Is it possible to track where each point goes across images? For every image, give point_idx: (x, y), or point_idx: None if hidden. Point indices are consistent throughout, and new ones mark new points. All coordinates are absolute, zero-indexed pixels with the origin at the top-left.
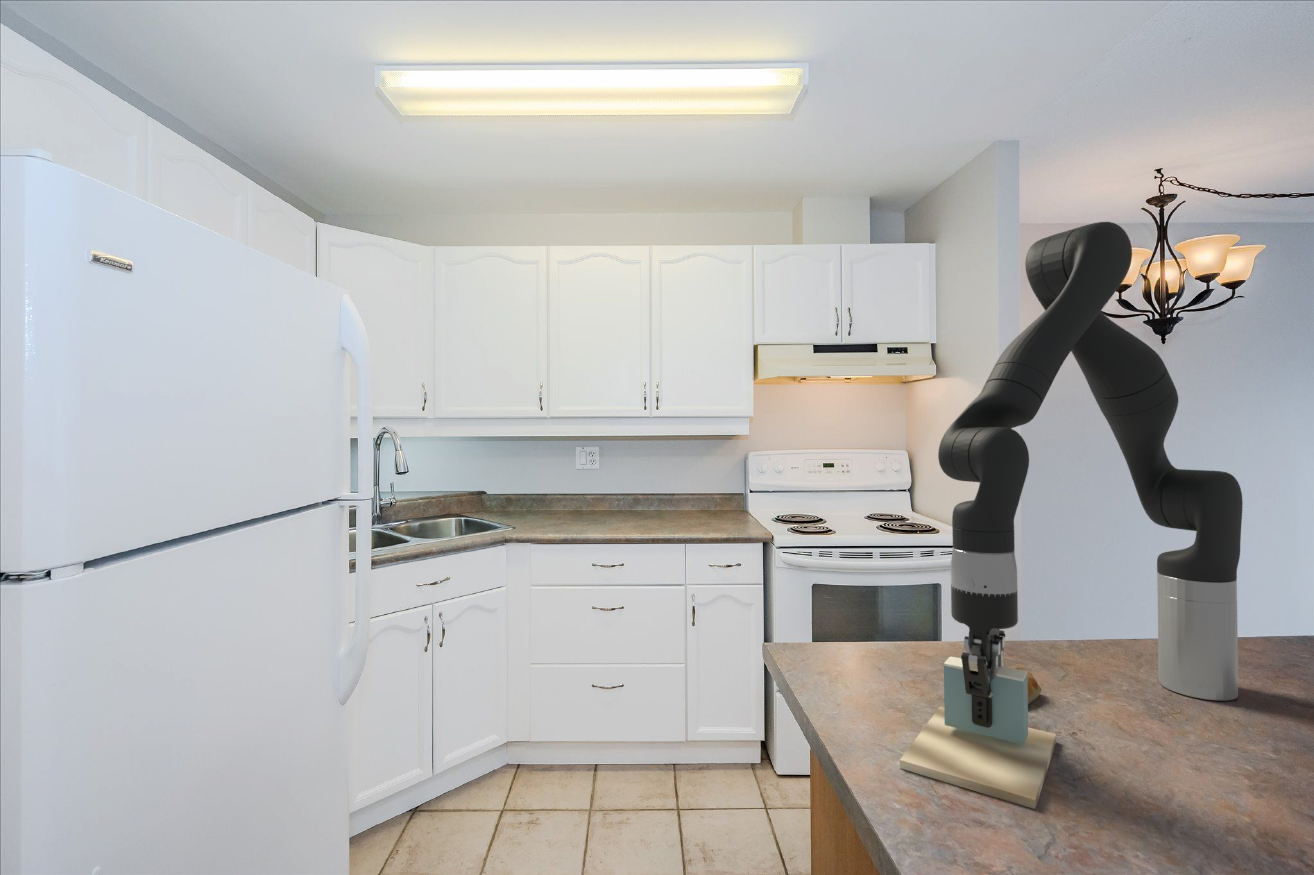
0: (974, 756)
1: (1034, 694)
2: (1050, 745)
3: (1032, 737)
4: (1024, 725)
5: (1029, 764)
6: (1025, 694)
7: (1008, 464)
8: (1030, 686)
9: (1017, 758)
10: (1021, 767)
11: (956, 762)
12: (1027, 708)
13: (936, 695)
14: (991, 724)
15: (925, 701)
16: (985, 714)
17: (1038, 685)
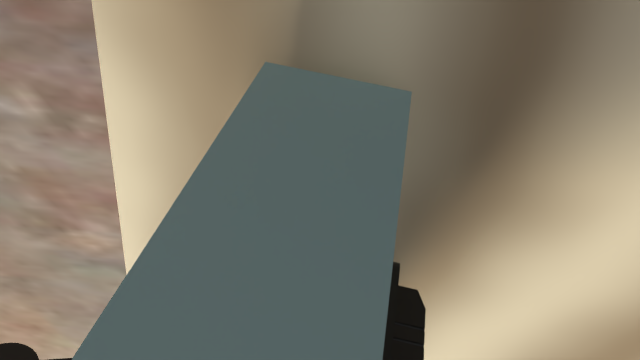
0: (533, 258)
1: None
2: None
3: (206, 21)
4: (377, 139)
5: (551, 59)
6: (273, 258)
7: None
8: None
9: (496, 106)
10: (598, 97)
11: (612, 314)
12: (226, 147)
13: (3, 294)
14: (395, 267)
15: (78, 323)
16: (421, 339)
17: None
